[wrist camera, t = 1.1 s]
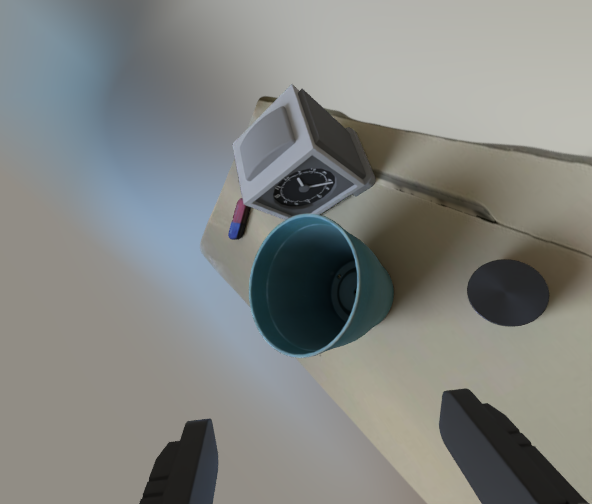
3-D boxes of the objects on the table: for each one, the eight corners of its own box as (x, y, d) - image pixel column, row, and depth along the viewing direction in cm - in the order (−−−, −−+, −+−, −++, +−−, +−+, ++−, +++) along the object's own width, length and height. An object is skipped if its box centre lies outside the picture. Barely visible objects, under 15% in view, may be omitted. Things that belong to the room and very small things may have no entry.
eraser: (243, 197, 75) (238, 195, 74) (253, 198, 73) (247, 196, 71) (231, 239, 75) (226, 237, 74) (241, 241, 72) (235, 240, 71)
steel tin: (526, 255, 36) (524, 248, 32) (563, 313, 33) (566, 313, 29) (464, 279, 40) (455, 275, 36) (492, 333, 37) (486, 335, 33)
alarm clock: (300, 231, 61) (228, 206, 47) (286, 181, 66) (218, 145, 52) (377, 182, 51) (314, 133, 37) (354, 128, 56) (292, 67, 42)
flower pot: (314, 249, 57) (248, 230, 45) (406, 228, 46) (352, 194, 33) (319, 346, 53) (247, 354, 40) (421, 348, 42) (366, 361, 29)
